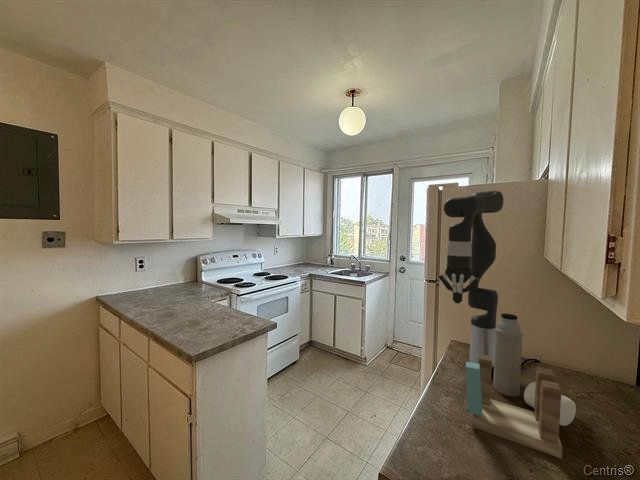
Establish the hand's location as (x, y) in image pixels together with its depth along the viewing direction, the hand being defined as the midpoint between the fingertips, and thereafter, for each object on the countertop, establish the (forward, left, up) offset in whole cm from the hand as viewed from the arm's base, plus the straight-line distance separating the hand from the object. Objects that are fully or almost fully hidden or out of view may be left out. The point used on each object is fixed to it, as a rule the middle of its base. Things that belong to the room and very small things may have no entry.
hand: (457, 302), depth 94 cm
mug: (-6, +28, -33) cm, 44 cm away
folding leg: (+13, +7, -30) cm, 33 cm away
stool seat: (+9, +16, -33) cm, 38 cm away
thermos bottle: (-13, +16, -33) cm, 39 cm away
